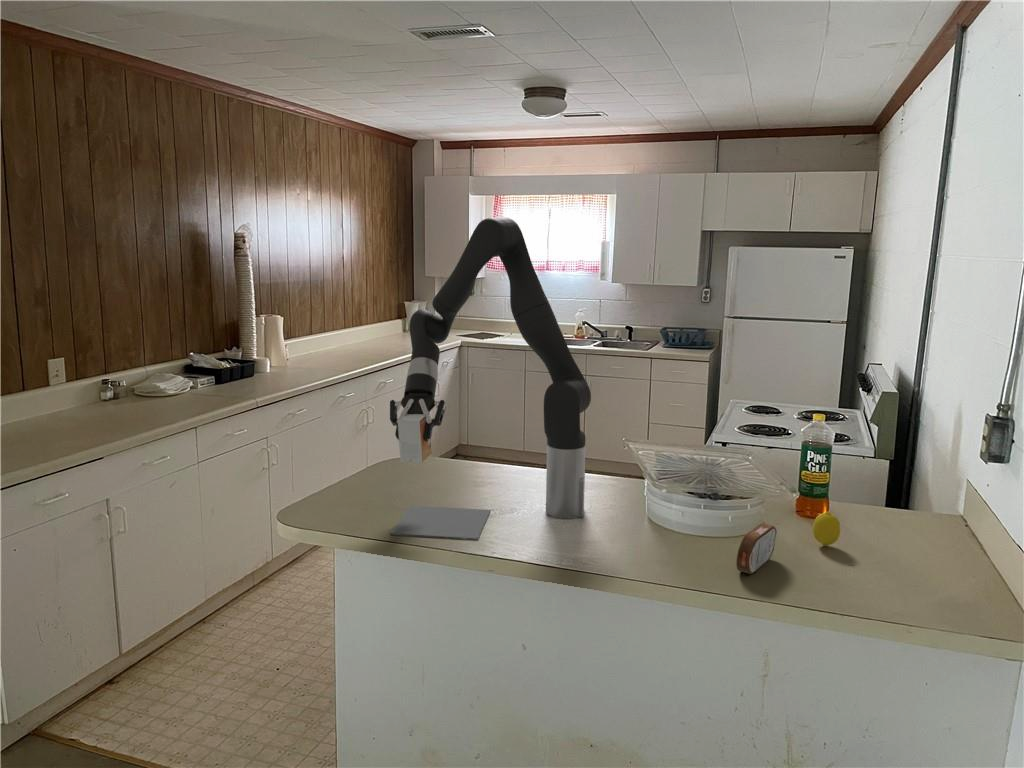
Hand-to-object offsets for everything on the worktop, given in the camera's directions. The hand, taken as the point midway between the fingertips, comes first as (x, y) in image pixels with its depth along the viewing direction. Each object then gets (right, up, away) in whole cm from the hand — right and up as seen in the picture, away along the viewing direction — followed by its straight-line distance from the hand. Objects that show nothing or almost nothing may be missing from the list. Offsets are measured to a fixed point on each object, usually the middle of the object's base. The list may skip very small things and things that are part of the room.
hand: (412, 439), depth 181 cm
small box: (0, -5, +3) cm, 6 cm away
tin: (+74, -25, -24) cm, 82 cm away
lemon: (+92, -23, -14) cm, 96 cm away
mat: (+7, -19, -2) cm, 21 cm away
